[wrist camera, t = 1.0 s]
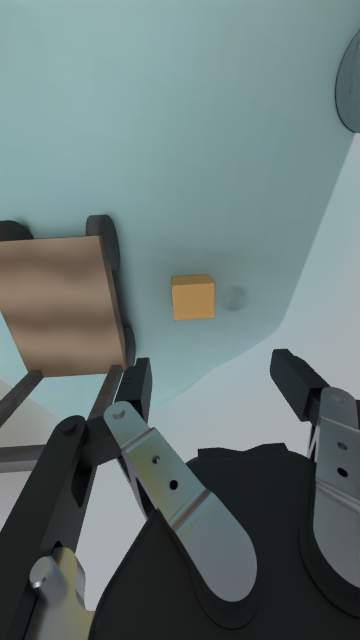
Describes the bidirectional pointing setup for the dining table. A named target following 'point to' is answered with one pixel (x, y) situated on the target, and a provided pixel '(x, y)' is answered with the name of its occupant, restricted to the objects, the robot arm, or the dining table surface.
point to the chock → (193, 297)
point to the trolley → (61, 316)
